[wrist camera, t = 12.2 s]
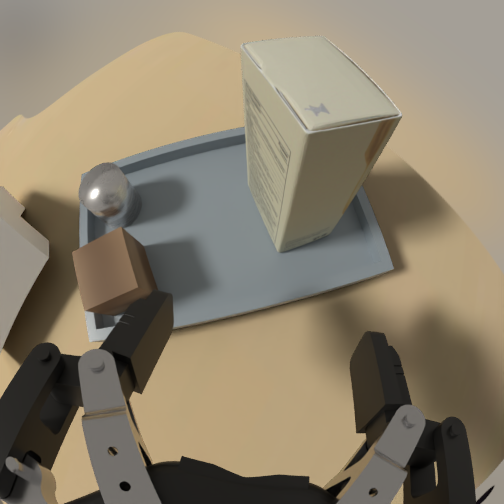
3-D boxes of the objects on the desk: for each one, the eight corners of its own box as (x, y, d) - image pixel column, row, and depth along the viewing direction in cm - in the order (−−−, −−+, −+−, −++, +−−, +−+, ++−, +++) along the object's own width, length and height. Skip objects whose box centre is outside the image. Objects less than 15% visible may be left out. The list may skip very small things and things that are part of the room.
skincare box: (331, 235, 19) (413, 122, 8) (276, 255, 19) (310, 141, 7) (295, 164, 21) (325, 31, 9) (244, 179, 21) (237, 39, 9)
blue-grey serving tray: (320, 136, 24) (327, 115, 21) (376, 277, 20) (394, 268, 18) (96, 189, 23) (81, 174, 20) (108, 341, 19) (89, 341, 16)
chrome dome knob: (140, 183, 21) (121, 156, 17) (143, 222, 20) (122, 199, 16) (102, 195, 21) (80, 172, 17) (103, 234, 20) (77, 214, 16)
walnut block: (143, 245, 19) (121, 226, 15) (160, 296, 18) (138, 287, 14) (100, 266, 19) (71, 252, 15) (114, 315, 18) (84, 311, 14)
